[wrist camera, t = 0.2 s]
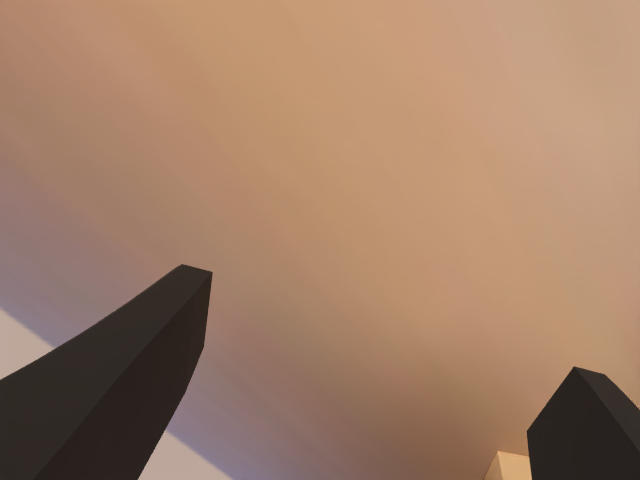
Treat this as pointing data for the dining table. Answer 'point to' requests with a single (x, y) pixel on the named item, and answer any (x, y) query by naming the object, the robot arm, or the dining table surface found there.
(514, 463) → the oak cube
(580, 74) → the dining table surface
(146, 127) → the dining table surface
